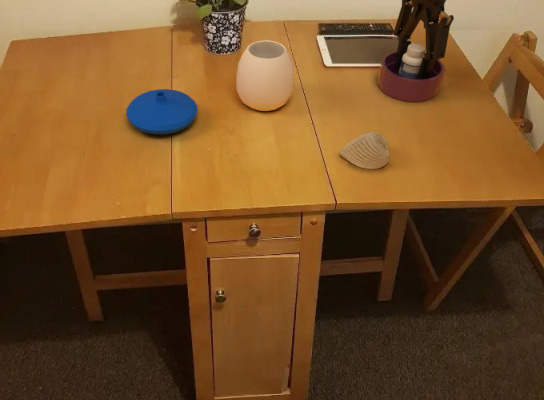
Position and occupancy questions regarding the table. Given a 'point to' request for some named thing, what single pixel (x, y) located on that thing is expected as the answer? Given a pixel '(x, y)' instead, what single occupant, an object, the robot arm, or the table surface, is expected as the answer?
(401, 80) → the bowl
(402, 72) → the pill bottle
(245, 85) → the white rounded pot
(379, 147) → the seashell
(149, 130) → the blue lid with knob
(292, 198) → the table surface
